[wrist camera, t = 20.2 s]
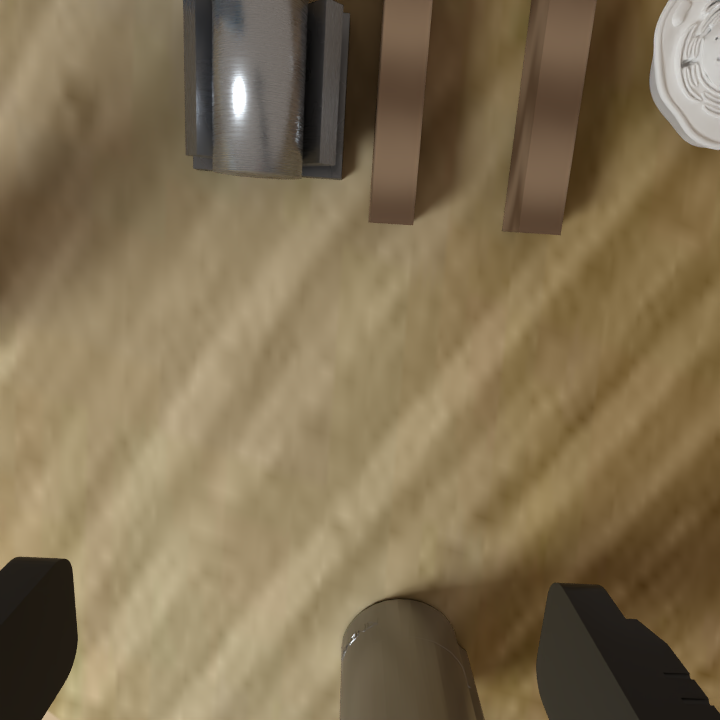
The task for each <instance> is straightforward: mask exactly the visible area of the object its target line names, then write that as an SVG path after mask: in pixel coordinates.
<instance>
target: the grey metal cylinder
mask: <svg viewBox="0 0 720 720" xmlns="http://www.w3.org/2000/svg"><path fill="white" fill-rule="evenodd" d="M307 16H308V0H212V115H213V172H216V173H221V174H228V175H235V176H244V177H255V178H268V179H301V178H302V158H303V130H304V101H305V73H306V44H307Z"/></svg>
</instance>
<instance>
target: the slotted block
mask: <svg viewBox="0 0 720 720" xmlns="http://www.w3.org/2000/svg"><path fill="white" fill-rule="evenodd" d="M432 2H433V0H383V12H382V27H381V42H380V57H379V72H378V87H377V102H376V118H375V133H374V148H373V163H372V178H371V193H370V208H369V222H373V223H388V224H403V225H413V221H414V210H415V198H416V187H417V175H418V164H419V152H420V141H421V129H422V118H423V106H424V95H425V83H426V72H427V60H428V49H429V37H430V25H431V14H432ZM596 2H597V0H532V1H531V9H530V17H529V25H528V32H527V40H526V48H525V56H524V64H523V72H522V79H521V87H520V95H519V103H518V111H517V119H516V126H515V134H514V142H513V150H512V158H511V166H510V173H509V181H508V189H507V197H506V205H505V213H504V220H503V228H502V231H508V232H523V233H538V234H553V235H561V228H562V222H563V215H564V209H565V202H566V196H567V189H568V183H569V177H570V170H571V164H572V157H573V151H574V144H575V138H576V131H577V125H578V118H579V112H580V105H581V99H582V92H583V86H584V80H585V73H586V67H587V60H588V54H589V47H590V41H591V34H592V28H593V21H594V15H595V8H596Z"/></svg>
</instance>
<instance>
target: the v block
mask: <svg viewBox="0 0 720 720" xmlns="http://www.w3.org/2000/svg"><path fill="white" fill-rule="evenodd" d="M183 11H184V72H185V134H186V155H188V156H193V169H196V170H205V171H213V115H212V0H183ZM349 28H350V13H343V5H342V4H339V3H337V2H335V1H333V0H318V1H315V2H312V3H309V4H308V16H307V44H306V73H305V101H304V130H303V158H302V177H306V178H321V179H335V180H341V179H342V161H343V142H344V123H345V104H346V85H347V66H348V47H349Z"/></svg>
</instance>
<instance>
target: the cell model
mask: <svg viewBox="0 0 720 720" xmlns="http://www.w3.org/2000/svg"><path fill="white" fill-rule="evenodd" d="M650 91H651V95H652V98H653V100H654V102H655V104H656V106H657V108H658V109H659V110H660V112H661V113H662V114H663V116H664V117H665V118H666V119H667V120H668V121H669V123H670V124H671V125H672V126H673V128H674V129H675V130H676V132H677V133H678V134H679V135H680V136H681V137H682V138H683V139H684V140H685V141H686V142H688V143H689V144H691V145H694V146H698V147H704V148H710V149H716V150H720V0H669V1H668V3H667V4H666V6H665V8H664V9H663V11H662V13H661V15H660V17H659V20H658V22H657V25H656V29H655V34H654V53H653V59H652V64H651V70H650Z"/></svg>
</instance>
